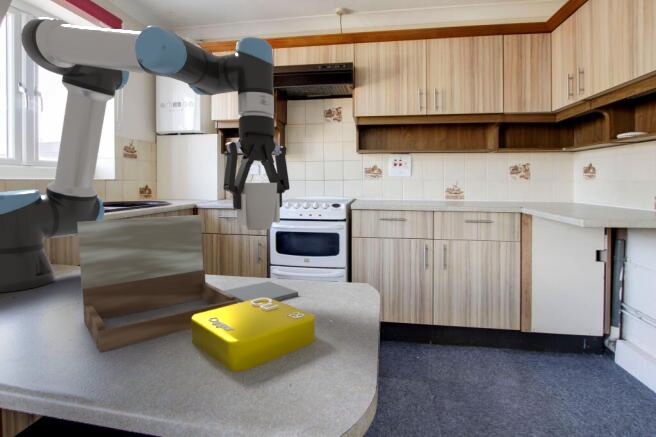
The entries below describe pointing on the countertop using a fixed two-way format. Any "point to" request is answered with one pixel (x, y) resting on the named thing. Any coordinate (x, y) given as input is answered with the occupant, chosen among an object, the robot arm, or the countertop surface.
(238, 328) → the element tile
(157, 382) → the countertop surface
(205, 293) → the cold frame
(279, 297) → the slate mat
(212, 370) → the countertop surface
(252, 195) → the cup
